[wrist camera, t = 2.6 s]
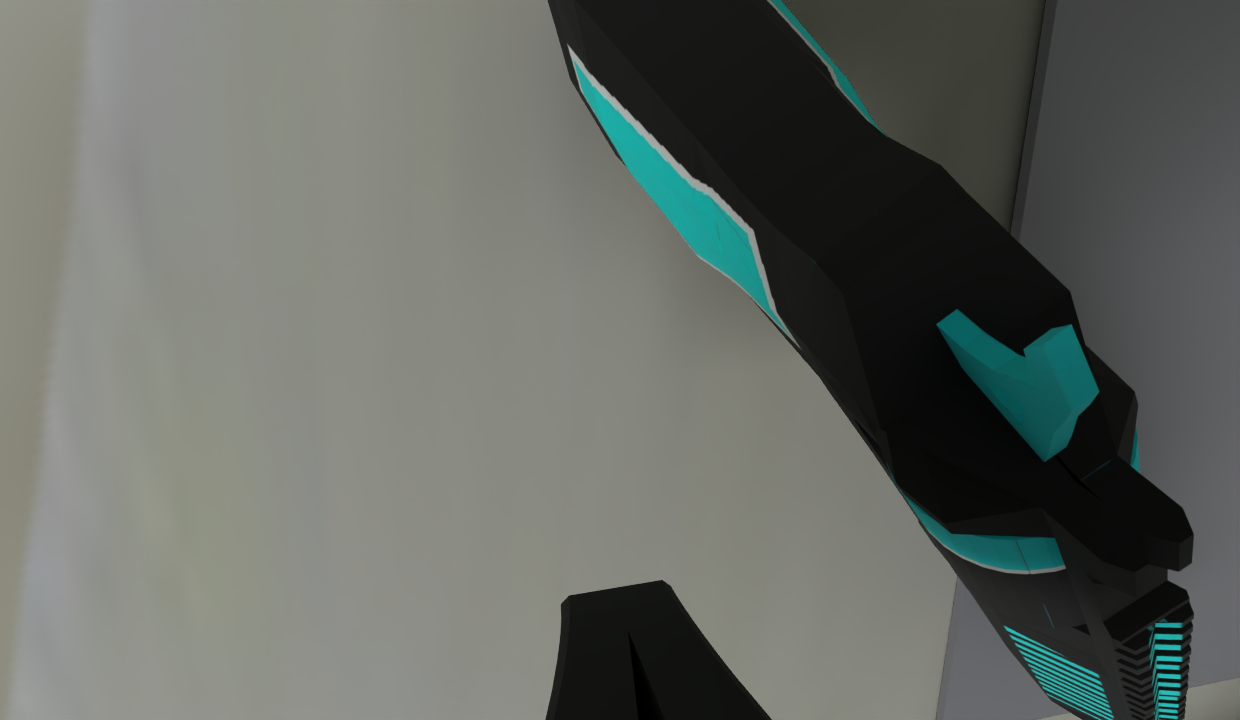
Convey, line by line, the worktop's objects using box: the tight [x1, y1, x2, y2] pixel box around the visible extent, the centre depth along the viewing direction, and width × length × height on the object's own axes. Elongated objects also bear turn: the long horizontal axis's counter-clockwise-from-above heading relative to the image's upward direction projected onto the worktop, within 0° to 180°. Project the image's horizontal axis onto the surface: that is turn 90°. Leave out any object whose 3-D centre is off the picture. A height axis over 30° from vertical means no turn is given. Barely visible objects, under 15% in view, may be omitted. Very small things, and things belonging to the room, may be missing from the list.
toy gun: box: [548, 0, 1194, 720], centre depth 13 cm, size 3×20×10 cm, turn 39°
